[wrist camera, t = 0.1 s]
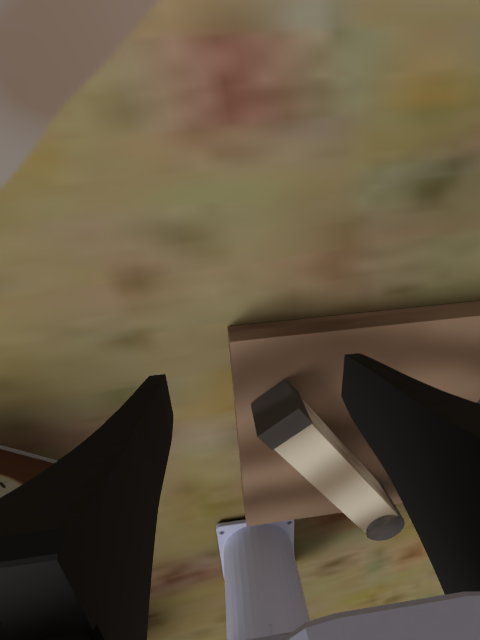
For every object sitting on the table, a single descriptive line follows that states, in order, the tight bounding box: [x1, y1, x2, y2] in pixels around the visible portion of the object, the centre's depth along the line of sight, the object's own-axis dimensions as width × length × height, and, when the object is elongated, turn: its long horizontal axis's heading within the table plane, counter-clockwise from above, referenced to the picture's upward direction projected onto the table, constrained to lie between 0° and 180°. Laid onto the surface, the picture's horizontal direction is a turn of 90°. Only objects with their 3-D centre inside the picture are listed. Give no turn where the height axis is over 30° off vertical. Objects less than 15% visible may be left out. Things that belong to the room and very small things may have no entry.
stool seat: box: [228, 301, 480, 526], centre depth 24 cm, size 19×22×5 cm
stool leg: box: [251, 379, 404, 541], centre depth 23 cm, size 17×3×3 cm, turn 39°
